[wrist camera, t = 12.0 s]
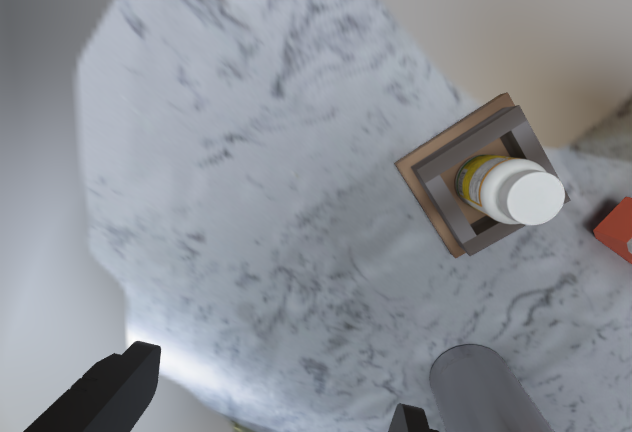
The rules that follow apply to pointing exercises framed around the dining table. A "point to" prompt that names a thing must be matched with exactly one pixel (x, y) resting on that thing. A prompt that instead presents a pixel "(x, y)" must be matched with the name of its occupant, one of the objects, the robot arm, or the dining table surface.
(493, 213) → the supplement bottle
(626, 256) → the french fries container
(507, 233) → the collar stand
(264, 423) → the dining table surface
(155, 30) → the dining table surface
